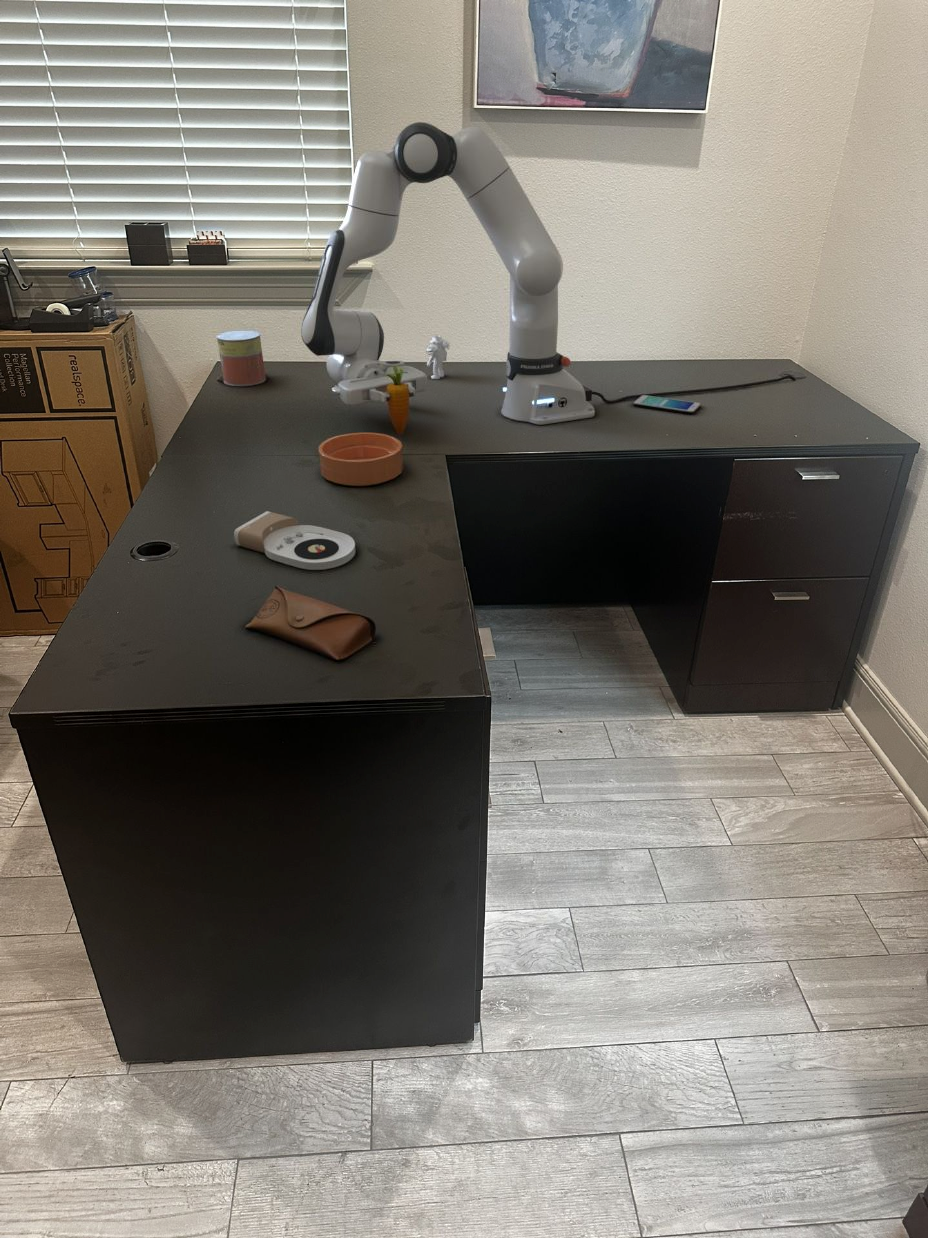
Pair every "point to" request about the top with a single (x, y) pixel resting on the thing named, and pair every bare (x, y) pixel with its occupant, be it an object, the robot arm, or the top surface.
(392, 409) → the carrot
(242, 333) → the canned food
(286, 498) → the top surface
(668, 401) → the smartphone
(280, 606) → the sunglasses case
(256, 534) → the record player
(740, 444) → the top surface
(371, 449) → the pot
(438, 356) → the hat wearing toy figure
